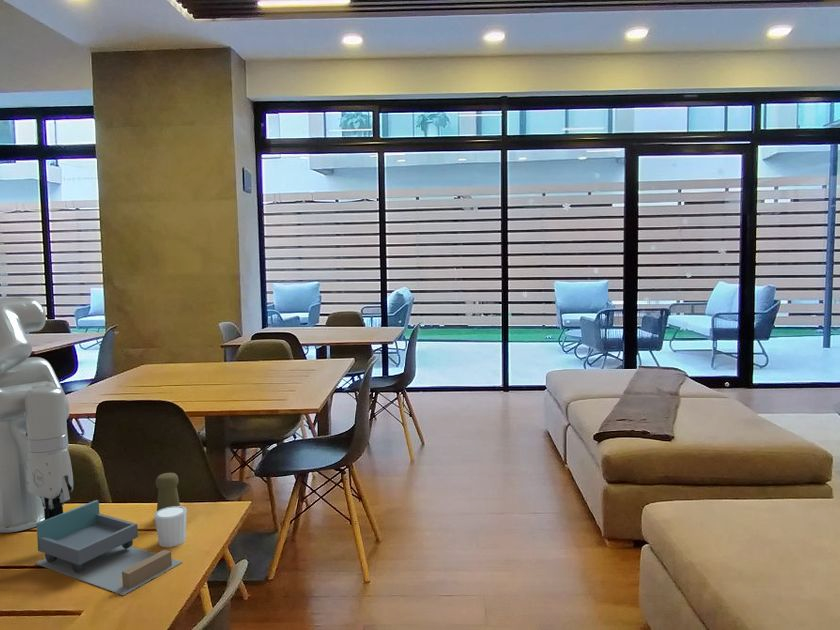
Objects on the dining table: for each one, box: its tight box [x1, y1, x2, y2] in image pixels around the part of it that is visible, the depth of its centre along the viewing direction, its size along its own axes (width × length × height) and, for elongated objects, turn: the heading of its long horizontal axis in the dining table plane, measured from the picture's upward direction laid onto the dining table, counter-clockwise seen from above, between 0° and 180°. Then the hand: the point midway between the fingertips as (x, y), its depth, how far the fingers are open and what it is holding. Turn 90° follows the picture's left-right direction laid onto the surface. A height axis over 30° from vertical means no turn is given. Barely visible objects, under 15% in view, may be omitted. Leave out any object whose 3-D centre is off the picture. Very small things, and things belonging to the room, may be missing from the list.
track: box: [34, 545, 183, 597], centre depth 129 cm, size 28×14×3 cm, turn 63°
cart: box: [35, 499, 139, 573], centre depth 132 cm, size 14×14×8 cm
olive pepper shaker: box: [155, 472, 181, 512], centre depth 151 cm, size 6×6×11 cm
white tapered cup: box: [153, 505, 188, 548], centre depth 139 cm, size 7×7×7 cm
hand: (54, 523), depth 137 cm, fingers closed
